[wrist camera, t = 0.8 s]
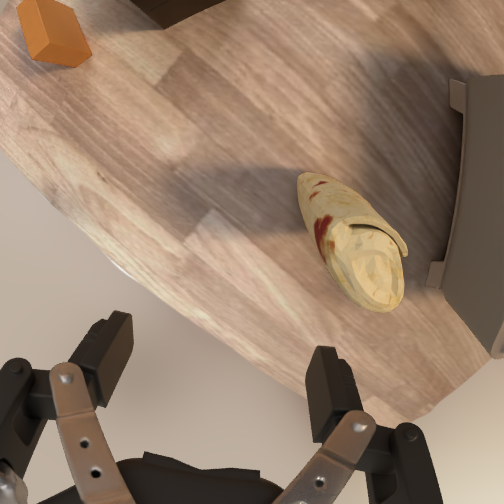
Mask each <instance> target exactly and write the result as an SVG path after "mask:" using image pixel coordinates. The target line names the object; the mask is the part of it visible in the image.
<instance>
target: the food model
mask: <svg viewBox="0 0 504 504" xmlns="http://www.w3.org/2000/svg"><path fill="white" fill-rule="evenodd" d="M297 193H298V202H299V206H300V209H301V213H302V216H303V220H304V223H305V225H306V228H307V230H308V232H309V234H310V236H311V238H312V240H313V242H314V244H315V246H316V248H317V250H318V252H319V254H320V256H321V258H322V260H323V262H324V264H325V266H326V268H327V269H328V271H329V273H330V274H331V276H332V277H333V279H334V280H335V282H336V283H337V284H338V286H339V287H340V289H341V290H342V291H343V293H344V294H345V295H346V296H347V297H348V298H349V299H350V300H352V301H353V302H354V303H355V304H356V305H357V306H359V307H361V308H364V309H367V310H369V311H374V312H380V313H386V312H389V311H392V310H393V309H394V308H396V307H397V305H398V304H399V303H400V301H401V299H402V297H403V293H404V278H403V271H402V264H401V258H400V257H405V256H408V249H407V246H406V244H405V243H404V241H403V240H402V238H401V237H400V235H399V234H398V233H397V232H396V231H395V230H394V229H393V228H392V227H391V226H390V225H389V224H388V223H387V222H386V221H385V220H384V219H383V218H382V217H381V216H380V215H379V214H378V213H377V212H376V211H375V210H374V209H373V208H372V206H371V205H370V204H369V202H368V201H366V200H365V199H364V198H363V197H362V196H360V195H359V194H358V193H357V192H356V191H354V190H353V189H351V188H349V187H347V186H346V185H344V184H342V183H340V182H339V181H337V180H335V179H333V178H331V177H329V176H326V175H323V174H318V173H312V172H305V173H302V174H301V175H300V176H298V180H297Z"/></svg>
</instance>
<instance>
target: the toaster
mask: <svg viewBox="0 0 504 504" xmlns="http://www.w3.org/2000/svg"><path fill="white" fill-rule="evenodd" d="M449 91H450V107H452V108H453V109H455V110H457V111H459V112H461V113H462V114H463V136H462V151H461V163H460V173H459V182H458V189H457V197H456V203H455V210H454V216H453V221H452V227H451V232H450V237H449V242H448V246H447V251H446V255H445V260H444V261H431V264H430V268H429V272H428V276H427V280H426V284H425V286H429V287H434V288H438V289H439V290H440V289H443V291H444V296H445V299H446V301H447V302H448V303H449V304H450V306H451V307H452V308H453V309H454V310H455V311H456V313H457V314H458V315H459V316H460V317H461V319H462V320H463V321H464V322H465V324H466V325H467V326H468V327H469V329H470V330H471V331H472V332H473V334H474V335H475V336H476V337H477V339H478V340H479V341H480V343H481V344H482V345H483V347H484V348H485V349H486V350H487V352H488V353H489V354H490V356H491V357H492V358H494V359H502V358H504V75H490V76H479V77H471V78H468V80H467V84H466V83H463V82H460V81H457V80H454V79H450V78H449Z"/></svg>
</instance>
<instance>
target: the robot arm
mask: <svg viewBox="0 0 504 504" xmlns="http://www.w3.org/2000/svg"><path fill="white" fill-rule="evenodd" d="M133 344H134V339H133V324H132V315H131V314H129V313H125V312H120V311H116V310H115V311H113V313H112V314H111V315H110V317H109V319H108V320H104V319H101V320H100V321H98V322H96V323H95V324H93V325H92V327H91V328H90V330H89V331H88V334H86V335H85V337H84V338H83V340H82V341H81V343H80V344H79V346H78V347H77V348H76V350H75V351H74V353H73V354H72V356H71V357H70V359H69V360H68V362H63V363H59V364H57V365H55V366H54V367H53V368H52V369H51V370H37V369H32V367H31V364H30V363H29V362H28V361H27V360H26V359H23V358H14V359H11V360H9V361H7V362H6V363H5V364H4V366H3V367H2V369H1V370H0V504H27V496H28V489H27V487H26V484H25V483H24V482H23V477H24V474H25V472H26V469H27V467H28V464H29V462H30V459H31V457H32V455H33V452H34V450H35V447H36V445H37V443H38V440H39V438H40V436H41V433H42V431H43V429H44V427H45V425H46V423H47V420H48V419H49V420H56V424H57V428H58V431H59V435H60V439H61V442H62V446H63V449H64V453H65V456H66V459H67V462H68V465H69V468H70V471H71V474H72V477H73V479H74V482H75V485H74V486H72V487H70V488H68V489H66V490H64V491H62V492H60V493H58V494H56V495H54V496H52V497H50V498H48V499H46V500H44V501H41V502H39V503H37V504H332V503H333V502H334V501H335V499H336V498H337V496H338V495H339V494H340V492H341V490H342V489H343V488H344V486H345V485H346V483H347V482H348V480H349V479H350V477H351V476H352V474H353V472H354V471H355V470H359V471H364V472H365V475H366V482H367V489H368V497H369V504H443V500H442V496H441V492H440V488H439V484H438V481H437V477H436V473H435V470H434V466H433V463H432V459H431V457H430V453H429V449H428V447H427V443H426V440H425V437H424V434H423V432H422V430H421V429H420V428H419V427H418V426H416V425H415V424H412V423H408V422H405V423H401V424H399V425H398V426H397V427H396V429H392V428H388V427H384V426H380V425H377V424H376V422H375V420H374V419H373V418H372V416H370V415H369V414H368V413H366V412H364V410H363V406H362V403H361V400H360V396H359V393H358V389H357V386H356V383H355V379H354V378H353V377H354V376H353V373H352V369H351V367H350V366H349V365H348V363H347V362H346V361H345V360H344V359H338V356H337V352H336V349H335V347H329V346H317V347H316V349H315V351H314V354H313V356H312V359H311V361H310V364H309V366H308V369H307V372H306V378H305V384H306V391H307V398H308V405H309V414H310V421H311V429H312V436H313V442H314V443H322V447H321V448H320V449H319V450H318V451H317V452H316V454H315V455H314V456H313V457H312V458H311V460H310V461H309V462H308V463H307V465H306V466H305V467H304V468H303V469H302V471H301V472H300V473H299V474H298V475H297V476H296V478H295V479H294V480H293V481H292V482H291V483H290V484H289V485H288V487H287V488H286V489H285V490H284V489H282V488H281V487H279V486H278V485H276V484H275V483H273V482H271V481H268V480H266V479H263V478H260V470H249V469H239V468H222V469H209V470H201V469H197V468H195V467H192V466H190V465H187V464H185V463H183V462H180V461H178V460H176V459H173V458H170V457H166V456H162V455H157V454H153V453H149V452H144V454H143V458H131V459H125V460H121V461H118V462H116V463H115V460H114V458H113V456H112V454H111V451H110V449H109V447H108V444H107V442H106V439H105V437H104V434H103V432H102V429H101V426H100V424H99V421H98V418H97V416H96V413H95V410H96V408H97V406H101V407H104V408H106V407H107V405H108V402H109V400H110V398H111V395H112V394H113V391H114V389H115V387H116V385H117V383H118V381H119V378H120V376H121V374H122V372H123V370H124V368H125V366H126V364H127V362H128V360H129V358H130V355H131V353H132V349H133Z"/></svg>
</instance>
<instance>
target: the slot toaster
mask: <svg viewBox="0 0 504 504" xmlns="http://www.w3.org/2000/svg"><path fill="white" fill-rule="evenodd" d="M130 1H131V2H132V3H134V4H135V5H136V6H137V7H138V8H140V9H141V10H142V11H143V12H144V13H146V14H147V15H148V16H149V17H150V18H151V19H153V20H154V21H155V22H156V23H157V24H158V25H159V26H161V27H162V28H163V29H164V30H165V29H167V28H169V27H170V26H172V25H174V24H176V23H178V22H180V21H182V20H184V19H186V18H188V17H190V16H192V15H194V14H196V13H198V12H200V11H202V10H205V9H207V8H209V7H211V6H214V5H216V4H218V3H221V2H223V1H225V0H130Z"/></svg>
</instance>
